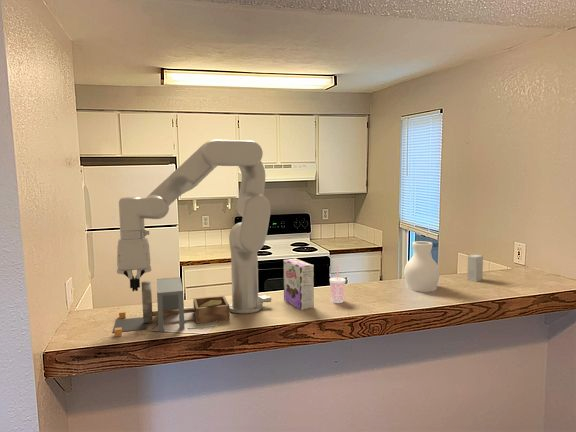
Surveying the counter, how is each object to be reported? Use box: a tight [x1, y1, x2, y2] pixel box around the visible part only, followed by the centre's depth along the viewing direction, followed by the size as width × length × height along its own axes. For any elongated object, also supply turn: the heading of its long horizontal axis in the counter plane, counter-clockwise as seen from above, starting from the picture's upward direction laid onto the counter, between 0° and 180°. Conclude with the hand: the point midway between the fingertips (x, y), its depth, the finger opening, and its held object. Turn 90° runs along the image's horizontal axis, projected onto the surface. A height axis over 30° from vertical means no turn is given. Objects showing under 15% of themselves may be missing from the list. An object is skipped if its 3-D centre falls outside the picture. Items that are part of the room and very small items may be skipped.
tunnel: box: [111, 276, 220, 337], centre depth 148 cm, size 33×20×12 cm, turn 107°
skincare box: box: [466, 253, 484, 283], centre depth 193 cm, size 6×4×12 cm
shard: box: [199, 300, 222, 308], centre depth 152 cm, size 11×8×2 cm
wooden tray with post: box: [140, 280, 231, 324], centre depth 149 cm, size 28×12×14 cm, turn 107°
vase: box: [403, 240, 441, 293], centre depth 182 cm, size 14×14×20 cm
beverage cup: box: [329, 265, 346, 304], centre depth 166 cm, size 6×6×14 cm
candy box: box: [282, 258, 315, 311], centre depth 164 cm, size 14×6×16 cm, turn 27°
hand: (135, 289), depth 144 cm, fingers closed
